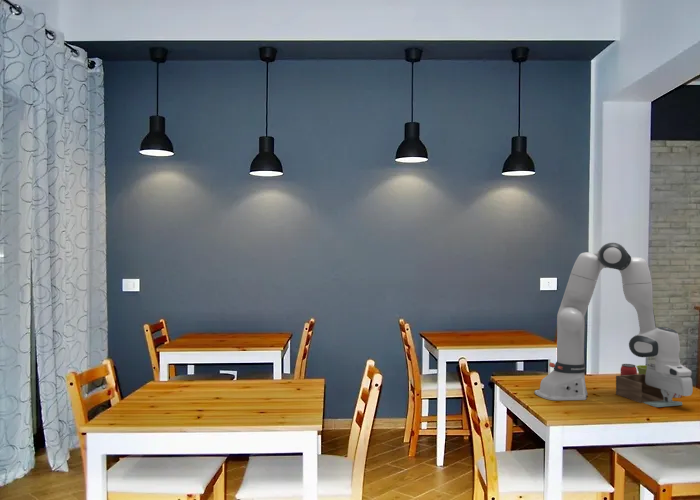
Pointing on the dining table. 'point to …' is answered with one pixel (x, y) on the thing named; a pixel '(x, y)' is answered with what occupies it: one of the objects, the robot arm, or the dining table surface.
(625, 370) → the beer can
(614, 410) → the dining table surface
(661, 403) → the panel
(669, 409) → the dining table surface
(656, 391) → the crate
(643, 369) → the plant pot
